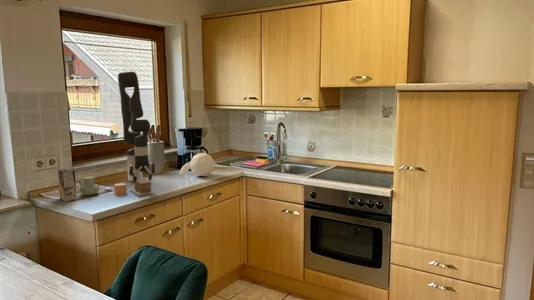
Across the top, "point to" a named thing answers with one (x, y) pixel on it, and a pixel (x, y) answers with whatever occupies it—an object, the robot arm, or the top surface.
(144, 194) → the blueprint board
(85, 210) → the top surface
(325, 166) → the top surface
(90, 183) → the air freshener
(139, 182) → the walnut block
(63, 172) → the coffee box
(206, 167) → the cream rounded faceted piece
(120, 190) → the terracotta cube
